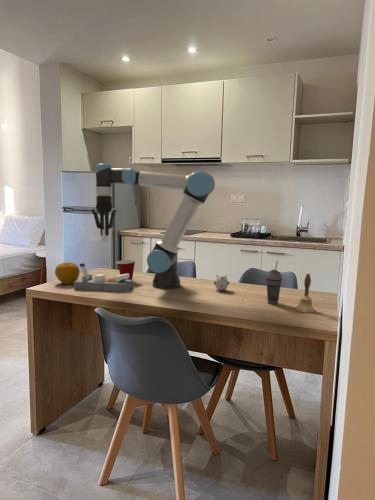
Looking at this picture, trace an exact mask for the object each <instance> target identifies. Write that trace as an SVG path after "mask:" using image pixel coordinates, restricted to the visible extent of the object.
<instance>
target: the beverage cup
mask: <svg viewBox="0 0 375 500" xmlns="http://www.w3.org/2000/svg"><path fill="white" fill-rule="evenodd" d="M278 262H279V261H278V260H276V264H275V269H271V270H269V271H268V272H266V273H267V274H266V275H265V282H266V296H267V297H266V299H267V304H268V305H271V306H272V305H273V306H274V305H275V306H276V305H278V304H279V298H280V293H281V292H280V291H281V284H282V280H283V276H282V273H281V272H280V271H278V270H277V267H278V264H279V263H278Z"/></svg>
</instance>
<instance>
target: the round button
mask: <svg viewBox="0 0 375 500" xmlns="http://www.w3.org/2000/svg"><path fill="white" fill-rule="evenodd" d="M106 279H107V282H115V276H114V277H113V276H110V277H107V278H106Z"/></svg>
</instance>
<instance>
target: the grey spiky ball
mask: <svg viewBox="0 0 375 500" xmlns="http://www.w3.org/2000/svg"><path fill="white" fill-rule="evenodd" d="M227 277H228V275H227V274H226V275H225V276H222V275H221V276H220V275H219V276H218V275H216V279H215V281H214V282H213V285H214V286H215V288H216V291H215V292H218V291H225V292H227V289H228V286H229V285H230V284H231V282H229V280H228V278H227Z"/></svg>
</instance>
